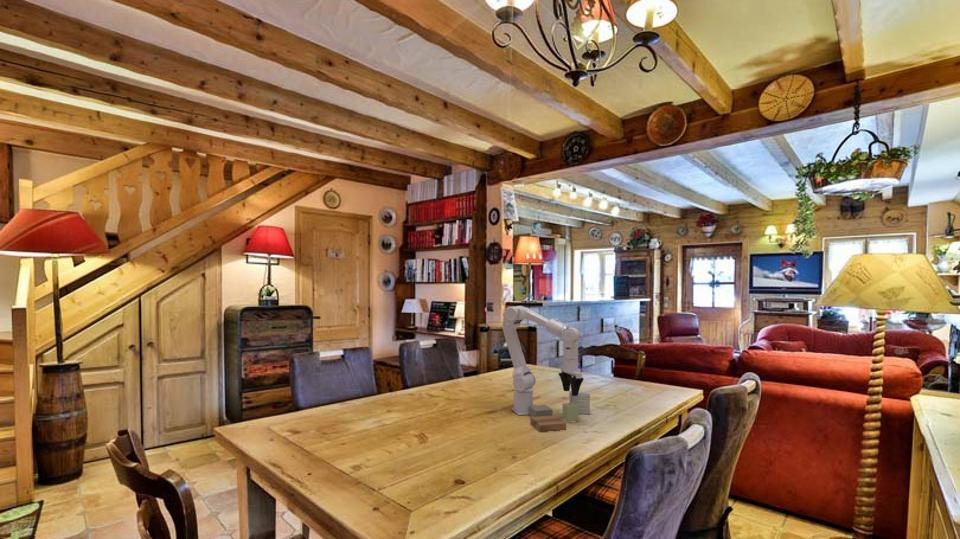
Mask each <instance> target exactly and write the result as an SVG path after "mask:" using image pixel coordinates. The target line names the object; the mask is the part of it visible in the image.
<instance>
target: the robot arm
mask: <svg viewBox="0 0 960 539" xmlns="http://www.w3.org/2000/svg"><path fill="white" fill-rule="evenodd" d="M502 317H503V321H502V332H503V335H504V338H505V342H506V345H507V350H508V352H509V356H510V359H511V363H512V366H513V372H512V378H513V379H512V380H513V381H512V385H513V388H514V389H515V391H514V392H513V407H511V410H512V411H513V412H514V413H515V414H516V415H518V416H526V415H528V416H529V406H534V386H535V385H536V381H537V380H536V377H535V376H534V373H532V370H531V368H530V367H529V366H527V362H526V359H525V355H524V352H523V349H522V345H521V342H520V339H519V335H518V332H517V328H518V326H519V325H520V323H522V322H523V321H524V320H529V321H532V322H533V323H536V324H538V325H540V326H542V327H544V328H545V330H546V332H547V333H549V334H552V335H553V336H556V337H557V338H559V339H561V340H562V342H563V347H562V348H563V349H562V350H563V354H562V357H563V363H562V366H560V372H558V376H559V378H560V381H561V384H562V390H563V391H564V392H569V391H571V392H572V396H578V393H579V391H580V388H581V386H582V384H583V381H584V378H583V377H582V372H581V371H582V370H581V369H580V368H579V339H580V337H581V333H580V330H579V329H578V328H576V327H575V326H570V325H569V324H565V323H564V322H561V321H560V320H559V319H558V318H550V319H549V318H547V317H544V316H543V315H541V314H539V313H537V312H535V311H533V310H532V309H531V308H528V307H525V306H523V305H516V306H508V307H506V309H505V310H504V312H503V313H502ZM570 389H571V390H570Z"/></svg>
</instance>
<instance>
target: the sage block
mask: <svg viewBox="0 0 960 539" xmlns="http://www.w3.org/2000/svg"><path fill="white" fill-rule="evenodd" d="M564 419H565V420H566V421H565V420H564ZM562 420H564V421H565V422H567V423H571V422H570V421H577V422H579V414H578V405H576V404H574V403H570V402H566V403H562Z"/></svg>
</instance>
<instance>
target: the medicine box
mask: <svg viewBox="0 0 960 539" xmlns="http://www.w3.org/2000/svg"><path fill="white" fill-rule="evenodd" d="M568 393H569V394H568V395H569V403H574V404H576V405H578V415H591V407H590V406H591V403H590V402H591V401H590V400H591V394H590V392H589V391H588V390H579V393H578V396H572V392H571V390H569V391H568Z"/></svg>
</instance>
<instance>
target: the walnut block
mask: <svg viewBox="0 0 960 539" xmlns="http://www.w3.org/2000/svg"><path fill="white" fill-rule="evenodd" d="M530 425H531V426H532V425H533V426H534V427H533V426H532V427H533V428H535V430H537V431H538V432H539V431H540V432H541V433H549V432H548V431H554V432H561V431H560V430H566V431H567V423H566V421H563V419H561V418H559V417H558V416H557V415H553V414H552V416H539V417H531V416H530ZM540 432H539V433H540Z"/></svg>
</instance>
